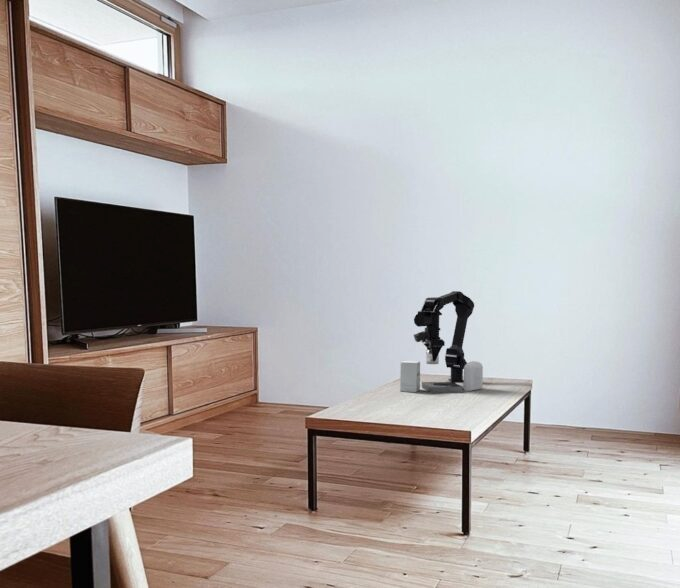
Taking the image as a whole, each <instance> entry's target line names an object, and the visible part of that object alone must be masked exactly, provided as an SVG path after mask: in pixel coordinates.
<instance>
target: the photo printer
mask: <svg viewBox="0 0 680 588" xmlns="http://www.w3.org/2000/svg"><path fill="white" fill-rule="evenodd" d="M483 369H484V366H483V364H482V363H481V362H480V361H474V360H473V361H472V360H471V361H470V362H467V364H466V365H465V366H464V369H463V380H464V382H463V385H462V389H463V390H464V391H465V392H471V391H472V392H473V391H476V390H482V389H483V380H484V379H483V373H484V370H483Z"/></svg>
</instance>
